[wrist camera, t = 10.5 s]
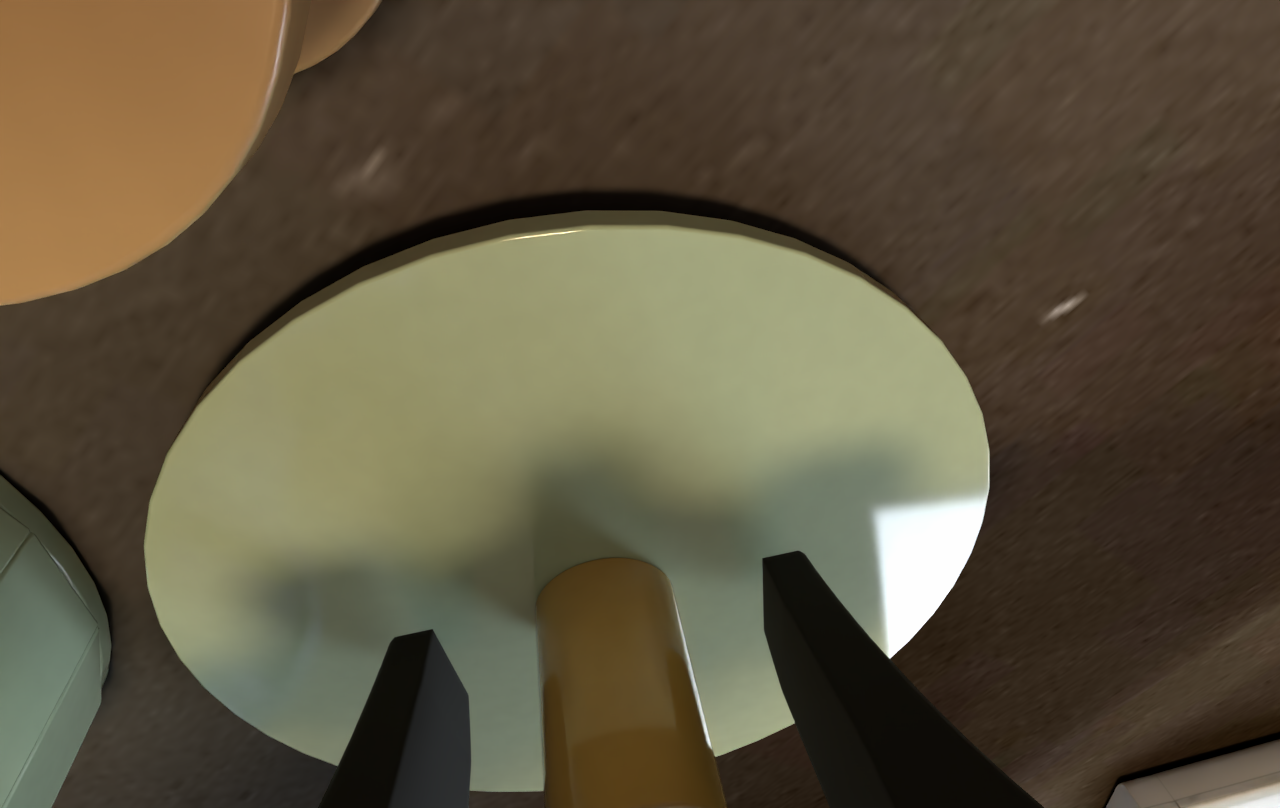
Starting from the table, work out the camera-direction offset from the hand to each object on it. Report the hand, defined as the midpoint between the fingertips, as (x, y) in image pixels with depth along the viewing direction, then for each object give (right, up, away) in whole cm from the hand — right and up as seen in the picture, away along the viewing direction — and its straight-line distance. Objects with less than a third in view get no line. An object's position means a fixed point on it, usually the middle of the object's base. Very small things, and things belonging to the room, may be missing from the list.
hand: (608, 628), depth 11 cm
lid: (0, +1, +1) cm, 1 cm away
